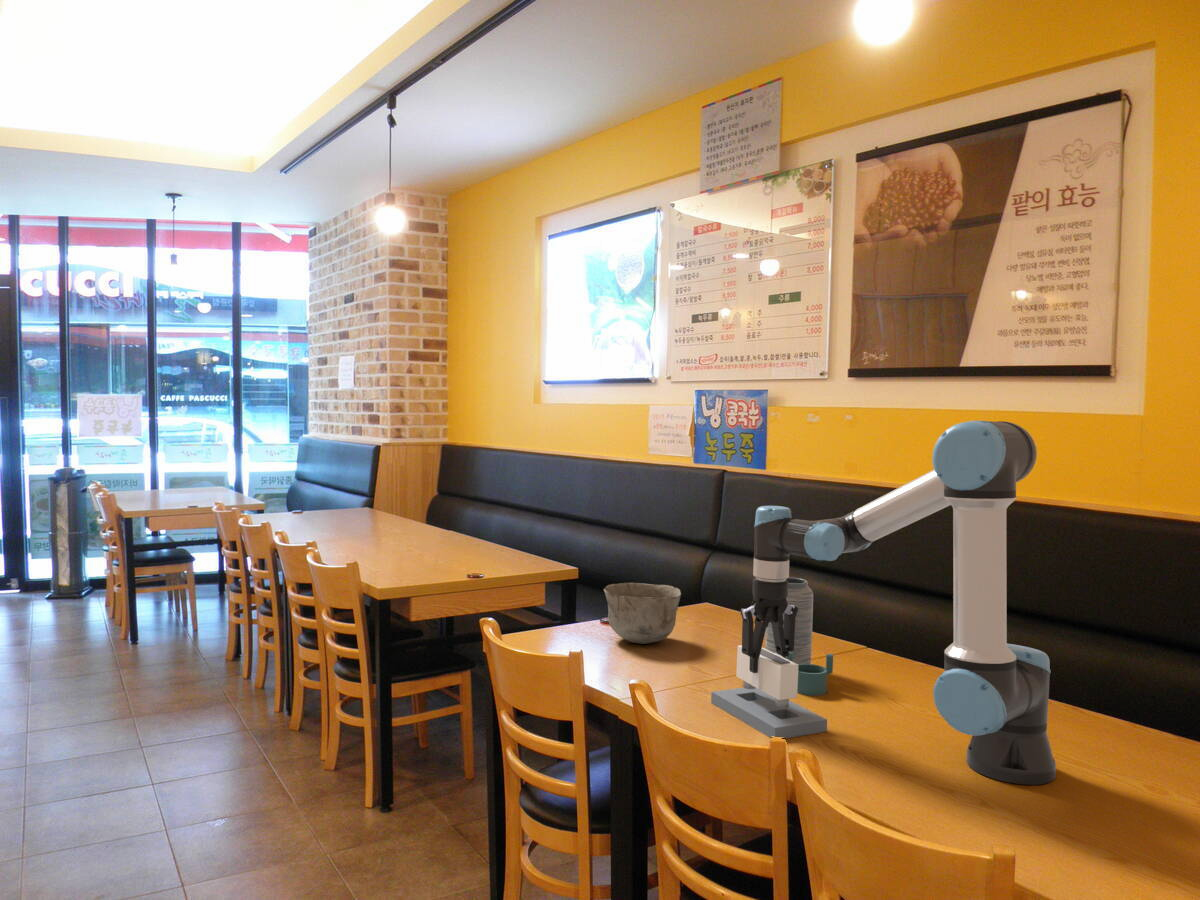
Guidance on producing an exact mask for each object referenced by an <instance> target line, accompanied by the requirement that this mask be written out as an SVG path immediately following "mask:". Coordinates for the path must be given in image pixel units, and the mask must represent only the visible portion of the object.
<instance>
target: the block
mask: <svg viewBox="0 0 1200 900" xmlns="http://www.w3.org/2000/svg"><path fill="white" fill-rule="evenodd" d="M736 651H737V653H736V674H735V675H736V676H735V677H736V678H738V679H740V680H742V681H743V682H742V683H743V684H742V688H743V687H744V688H746V689H755V688H756V687H754V686H752V672H751V671H750V669H749V667H750V657H749V656H747V655H745V654H743V653H742V644H741V645H737V650H736ZM760 658H762V659H763V664H762V689H760V690H762V691H763V692H765V693H767V694H769V695H771V696H772V697H774V698H775V705H776V706H778V707H782V708H785V707H788V706H789V700H790V699H791V700H792V699H796V698H797V699H798V693H797V688H798V666H799V665H798V664H796V663H794V662H792V661H790V660H788V659H785V658H783V657H781V656H779V655H777V654H775V653H773V652H771V651H769V650H766V649H765V647H762V648H761V653H760Z"/></svg>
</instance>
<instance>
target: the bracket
mask: <svg viewBox="0 0 1200 900" xmlns="http://www.w3.org/2000/svg"><path fill="white" fill-rule="evenodd" d="M788 653H789V655H788V656H787V659H788V660H790V661H792V659H793V652H788ZM798 665H799V666H798V688H797V694H799V695H805V696H812V697H813V696H815V697H816V696H822V695H825V694H826V693H827V691H828V690H827V688H828V685H827V682H828V675H830V674H833V673H834V672H833V671H834V654H832V653H826V654H825V666H823V665H818V664H814V663H813V664H812V663H810V664H798Z"/></svg>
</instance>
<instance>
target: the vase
mask: <svg viewBox="0 0 1200 900" xmlns="http://www.w3.org/2000/svg"><path fill="white" fill-rule="evenodd" d="M786 580H787V581H788V597H787V598H786V600H787V602H788V604H790V605H793V606H796V607H798V612H797V615H796V617H795V638H794V650H793V651H792V652H793V659H792V662H794V663H796V664H812V651H813V649H812V646H813V645H812V644H813V615H814V614H813V613H814V612H813V611H814V592H813V589H812V588H810V586H809V585H808V584H809V582H808V581H807V580H806V579H803V578H798V577H790V576H789V577H788V578H787V579H786ZM784 614H785V612H784V613H783V621H784ZM783 630H784V625H783ZM764 639H765V640H764V649H766V650H769V651H771V652H773V653H777V652H776V648H775V642H774V636H773V630H772V624H771V623H770V622H769V624H768V627H767V628H766V631H765V635H764ZM785 659H787V657H786V656H785Z"/></svg>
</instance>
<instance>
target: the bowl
mask: <svg viewBox="0 0 1200 900" xmlns="http://www.w3.org/2000/svg"><path fill="white" fill-rule="evenodd" d="M603 592H604V595H605V597H606V601H607V602H606V603H607V609H608V615H607V620H608V624H609V626H610V628H611V629H612V631H614V633H615V634H617V635H618V636H619V637H620V638H622V639H623V640H625V641H627V642H630V643H634V644H640V645H647V644H653V643H656V642H660V641H663V640H664V639H666V638H668V636H670V635H671V633H672V632H673V630H674V628H675V625H676V622H677V611H678V610H679V603H680V599H681V595H682V592H681V589H679V587H675V586H672V585H668V584H651V583H642V582H620V583H612V584H608V585H607V586H605V587H604V588H603Z"/></svg>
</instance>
